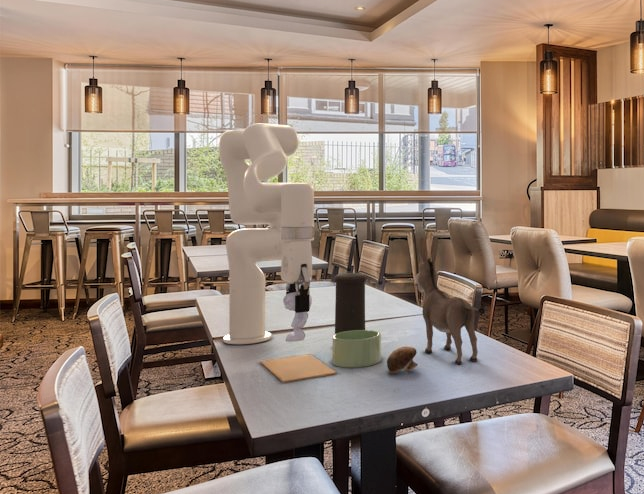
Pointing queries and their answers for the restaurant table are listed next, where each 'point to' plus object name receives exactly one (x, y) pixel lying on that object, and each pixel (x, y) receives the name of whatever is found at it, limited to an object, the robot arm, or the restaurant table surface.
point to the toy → (444, 307)
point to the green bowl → (356, 348)
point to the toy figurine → (296, 318)
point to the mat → (297, 368)
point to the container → (350, 302)
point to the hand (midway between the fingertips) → (297, 309)
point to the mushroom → (402, 359)
